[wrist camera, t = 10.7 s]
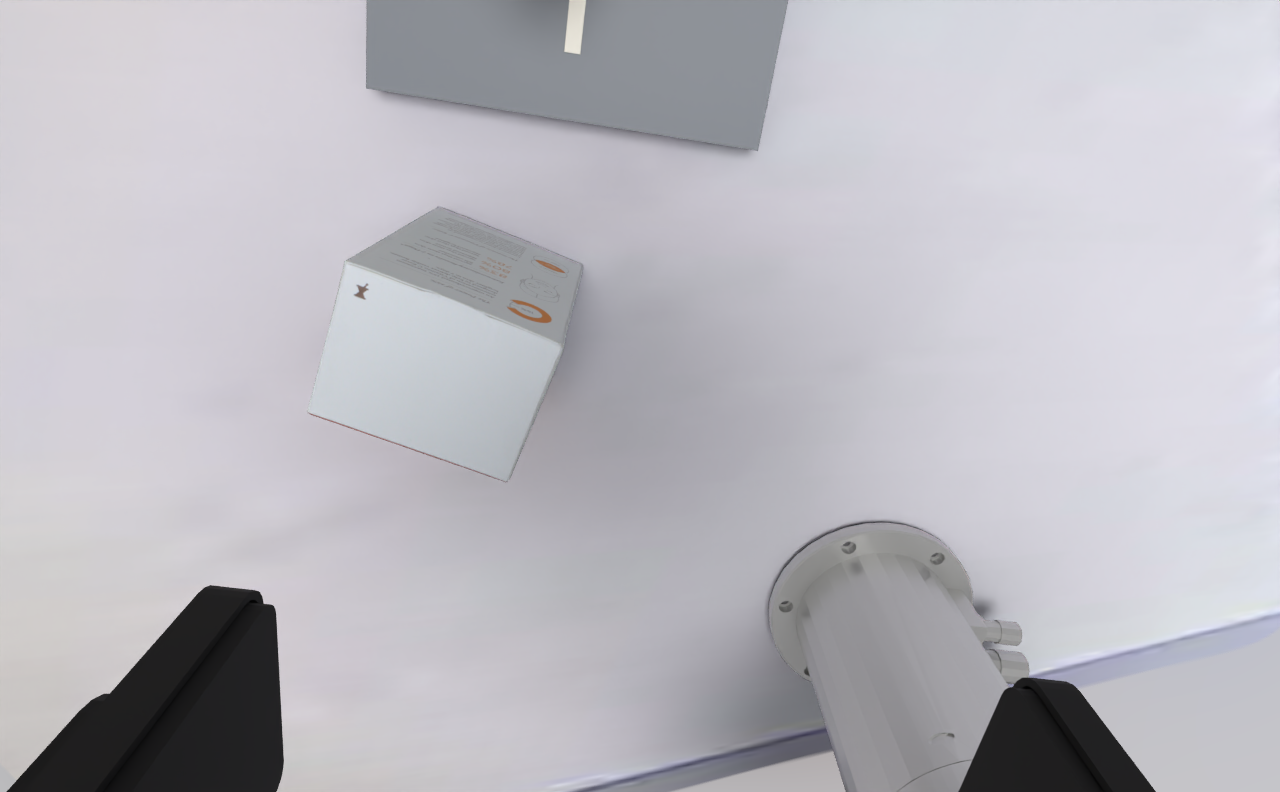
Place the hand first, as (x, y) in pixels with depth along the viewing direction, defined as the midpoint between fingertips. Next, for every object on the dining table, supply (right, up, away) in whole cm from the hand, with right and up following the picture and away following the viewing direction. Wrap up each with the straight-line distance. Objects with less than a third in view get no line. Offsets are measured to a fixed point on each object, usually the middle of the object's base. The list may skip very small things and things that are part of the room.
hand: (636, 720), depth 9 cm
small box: (-8, +10, +29) cm, 31 cm away
